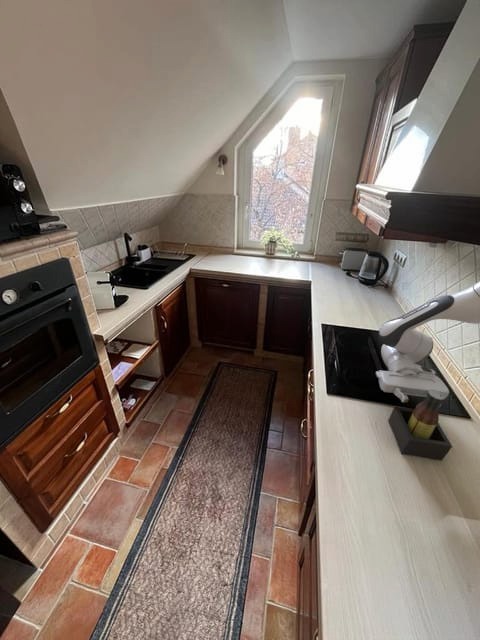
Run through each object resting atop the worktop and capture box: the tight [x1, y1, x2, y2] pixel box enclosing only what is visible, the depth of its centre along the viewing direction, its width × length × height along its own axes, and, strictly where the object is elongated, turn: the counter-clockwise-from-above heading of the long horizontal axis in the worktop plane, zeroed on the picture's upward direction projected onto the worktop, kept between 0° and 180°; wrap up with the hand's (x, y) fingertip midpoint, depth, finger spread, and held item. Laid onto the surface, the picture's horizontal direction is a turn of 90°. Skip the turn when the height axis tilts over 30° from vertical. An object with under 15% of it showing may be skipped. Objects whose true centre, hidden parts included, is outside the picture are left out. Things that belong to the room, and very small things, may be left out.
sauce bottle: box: [407, 390, 446, 439], centre depth 77 cm, size 7×6×20 cm
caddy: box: [387, 406, 453, 461], centre depth 80 cm, size 11×12×7 cm
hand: (421, 403), depth 79 cm, fingers open, 8 cm apart
